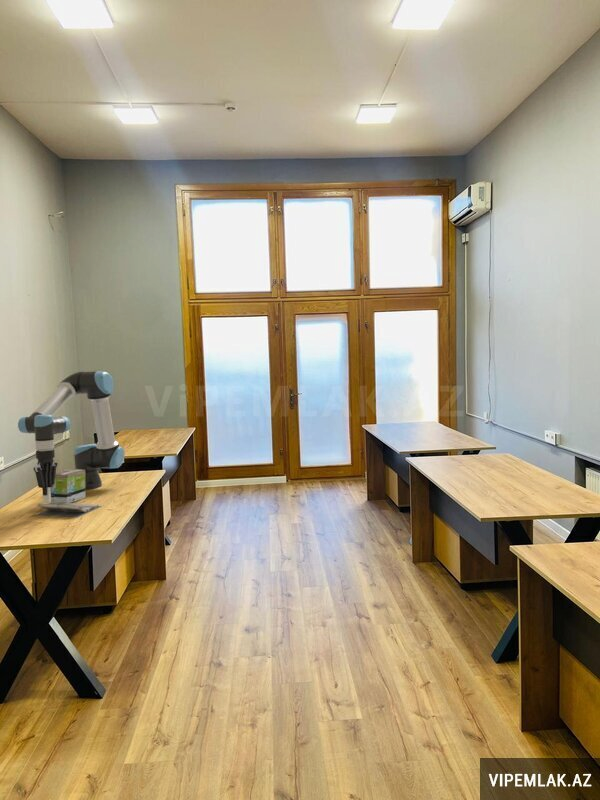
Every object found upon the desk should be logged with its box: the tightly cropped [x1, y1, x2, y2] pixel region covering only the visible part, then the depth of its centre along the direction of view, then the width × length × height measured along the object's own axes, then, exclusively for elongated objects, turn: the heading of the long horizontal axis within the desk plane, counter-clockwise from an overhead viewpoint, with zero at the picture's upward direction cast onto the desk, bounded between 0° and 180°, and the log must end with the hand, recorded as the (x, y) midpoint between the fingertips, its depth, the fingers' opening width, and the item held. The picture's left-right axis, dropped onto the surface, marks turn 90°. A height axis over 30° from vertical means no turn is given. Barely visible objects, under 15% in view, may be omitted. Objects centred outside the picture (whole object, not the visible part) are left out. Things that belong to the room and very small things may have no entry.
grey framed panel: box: [35, 505, 103, 519], centre depth 244 cm, size 19×22×1 cm
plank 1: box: [37, 502, 66, 511], centre depth 240 cm, size 8×10×1 cm
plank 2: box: [57, 505, 87, 512], centre depth 238 cm, size 8×10×1 cm
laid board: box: [57, 502, 99, 513], centre depth 247 cm, size 8×20×1 cm, turn 77°
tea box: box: [49, 468, 86, 504], centre depth 261 cm, size 15×10×15 cm, turn 168°
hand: (47, 501), depth 237 cm, fingers closed
